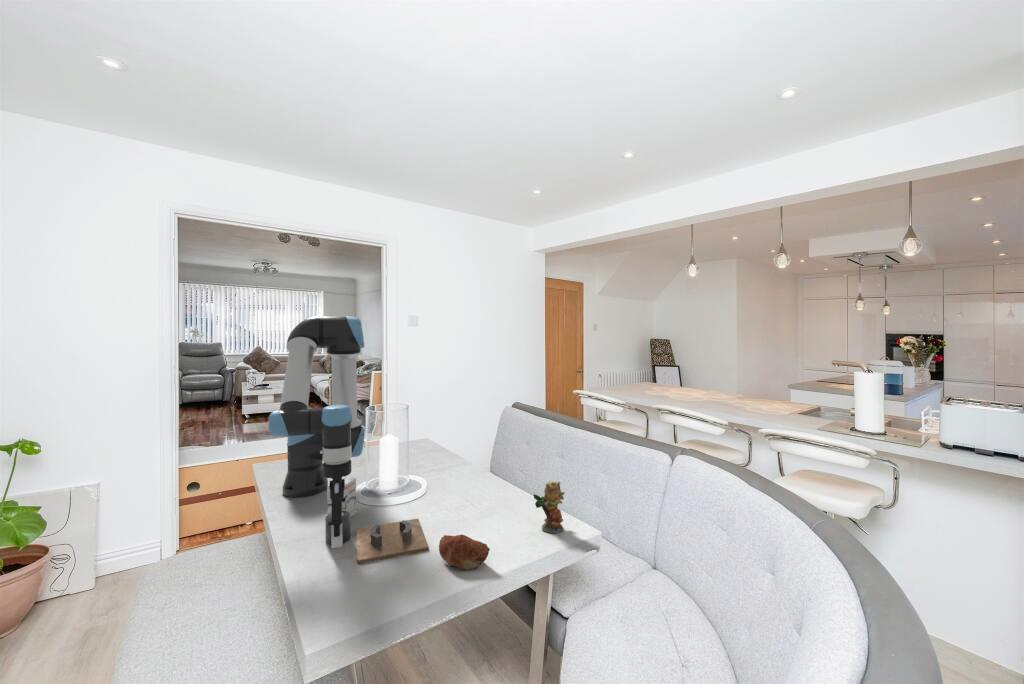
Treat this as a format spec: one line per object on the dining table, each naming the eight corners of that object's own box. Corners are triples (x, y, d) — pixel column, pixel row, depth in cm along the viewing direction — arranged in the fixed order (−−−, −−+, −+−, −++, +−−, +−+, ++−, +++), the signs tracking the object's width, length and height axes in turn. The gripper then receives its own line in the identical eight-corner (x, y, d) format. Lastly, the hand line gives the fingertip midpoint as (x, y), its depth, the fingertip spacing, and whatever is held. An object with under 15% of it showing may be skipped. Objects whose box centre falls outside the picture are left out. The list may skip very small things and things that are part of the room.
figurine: (566, 525, 126) (567, 477, 126) (561, 537, 119) (561, 486, 119) (538, 521, 129) (538, 473, 129) (531, 532, 122) (531, 482, 122)
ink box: (341, 525, 126) (340, 487, 126) (326, 523, 127) (326, 485, 127) (357, 512, 135) (356, 477, 134) (343, 511, 136) (343, 476, 135)
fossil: (429, 545, 108) (452, 513, 108) (450, 548, 114) (471, 517, 114) (454, 584, 99) (478, 549, 99) (475, 585, 105) (498, 552, 105)
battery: (326, 536, 119) (325, 511, 119) (349, 532, 122) (349, 507, 121) (325, 547, 113) (324, 521, 113) (350, 543, 116) (349, 517, 115)
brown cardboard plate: (356, 531, 122) (356, 520, 122) (418, 521, 129) (418, 510, 129) (357, 564, 105) (357, 550, 105) (428, 550, 112) (428, 537, 112)
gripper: (324, 450, 127) (325, 519, 127) (319, 476, 103) (320, 560, 104) (351, 448, 129) (351, 515, 130) (351, 472, 106) (352, 554, 106)
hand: (337, 535), depth 117 cm, fingers open, 13 cm apart
